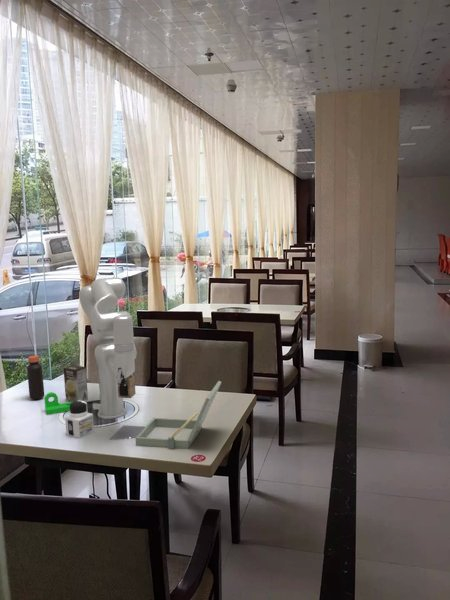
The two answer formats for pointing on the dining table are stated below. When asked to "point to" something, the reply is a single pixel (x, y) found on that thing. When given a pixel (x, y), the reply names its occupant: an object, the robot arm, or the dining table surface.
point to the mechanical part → (55, 405)
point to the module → (129, 387)
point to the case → (177, 423)
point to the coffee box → (75, 383)
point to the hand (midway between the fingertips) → (126, 392)
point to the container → (79, 420)
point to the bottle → (35, 378)
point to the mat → (127, 432)
